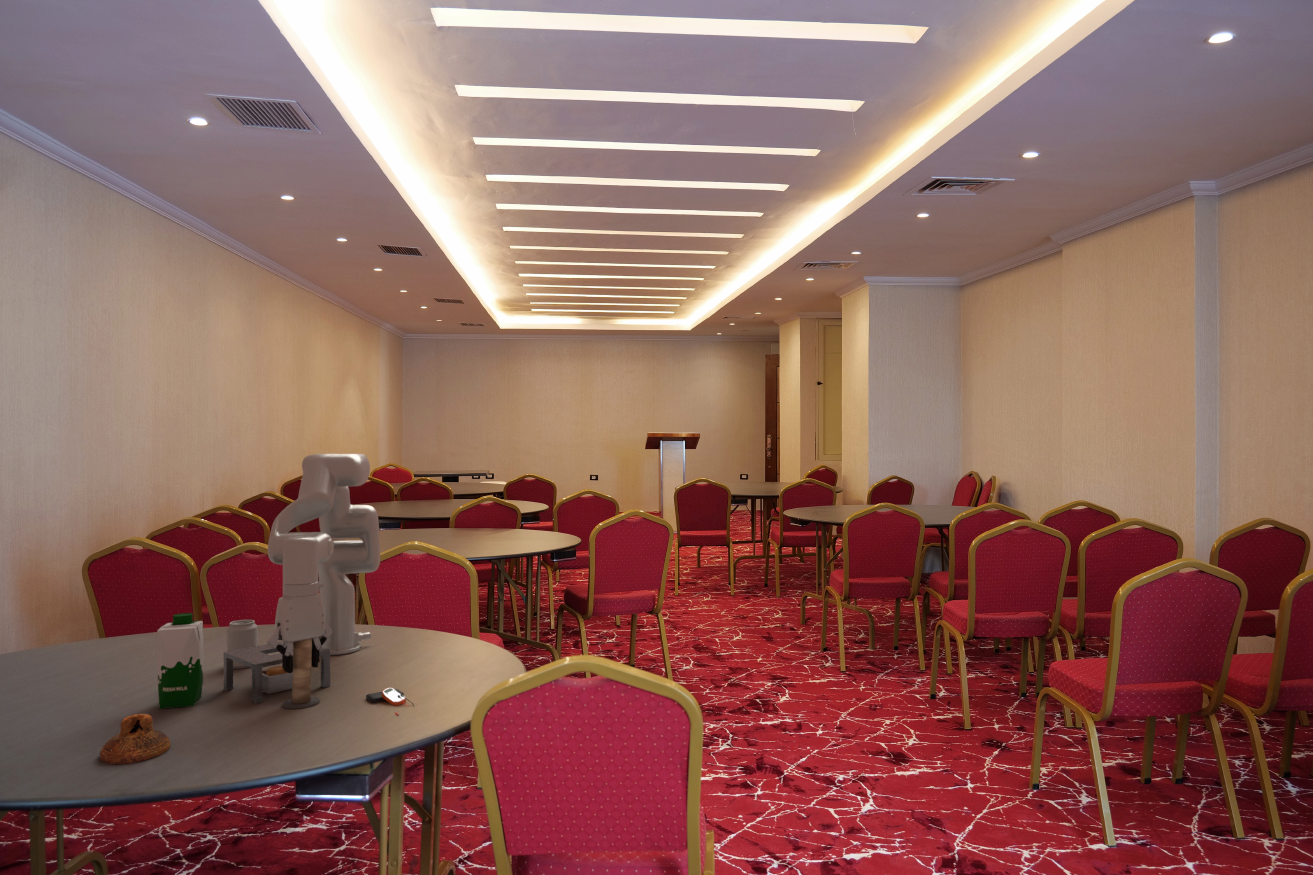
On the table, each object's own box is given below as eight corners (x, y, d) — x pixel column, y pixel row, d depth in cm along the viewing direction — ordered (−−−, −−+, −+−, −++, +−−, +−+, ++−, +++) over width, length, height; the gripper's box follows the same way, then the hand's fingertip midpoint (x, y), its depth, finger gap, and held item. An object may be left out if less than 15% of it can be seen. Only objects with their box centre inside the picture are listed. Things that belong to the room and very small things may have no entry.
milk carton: (206, 695, 198) (206, 611, 198) (196, 707, 189) (196, 619, 189) (165, 698, 196) (165, 613, 196) (153, 710, 187) (152, 621, 187)
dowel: (305, 698, 194) (307, 628, 195) (314, 700, 191) (315, 630, 192) (288, 701, 191) (290, 631, 192) (296, 704, 188) (298, 633, 189)
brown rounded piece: (182, 742, 167) (182, 705, 167) (148, 765, 155) (148, 726, 155) (123, 743, 167) (123, 706, 167) (84, 766, 155) (84, 727, 155)
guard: (296, 673, 217) (296, 638, 217) (330, 686, 205) (329, 649, 205) (223, 688, 203) (223, 651, 203) (255, 703, 191) (255, 664, 191)
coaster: (310, 695, 197) (310, 694, 197) (326, 702, 191) (326, 700, 192) (276, 704, 191) (276, 702, 191) (291, 711, 186) (291, 709, 186)
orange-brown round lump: (282, 682, 207) (282, 665, 207) (291, 686, 204) (291, 668, 204) (262, 687, 204) (262, 669, 204) (271, 690, 201) (271, 672, 201)
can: (263, 662, 228) (263, 618, 228) (247, 669, 221) (247, 624, 221) (237, 661, 229) (237, 618, 229) (220, 669, 221) (220, 624, 222)
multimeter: (440, 710, 186) (440, 695, 186) (386, 720, 180) (386, 705, 180) (416, 692, 201) (416, 678, 202) (365, 700, 195) (365, 686, 195)
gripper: (328, 583, 200) (328, 659, 200) (255, 593, 187) (256, 674, 187) (343, 587, 195) (344, 664, 195) (270, 597, 182) (270, 680, 182)
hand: (301, 668), depth 191 cm, fingers open, 5 cm apart
